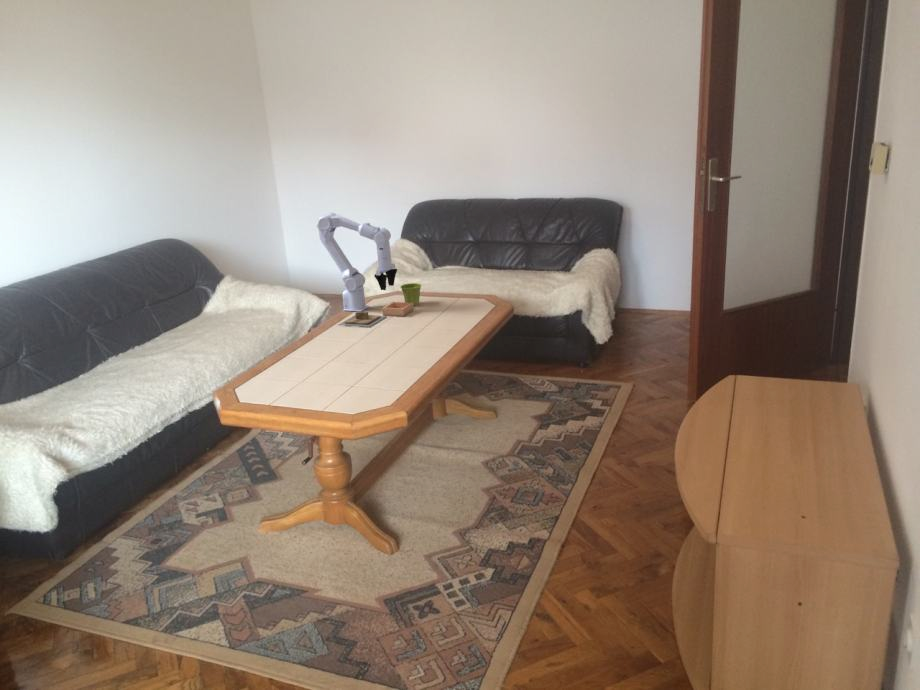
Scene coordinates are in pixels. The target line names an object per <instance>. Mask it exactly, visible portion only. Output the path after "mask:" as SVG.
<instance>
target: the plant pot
mask: <svg viewBox="0 0 920 690" xmlns="http://www.w3.org/2000/svg"><path fill="white" fill-rule="evenodd" d="M421 288H422V284H421V283H416V282H415V283H414V282H413V283H411V282H409V283H406V284H405V283H404V284H402V285H400V289H401V291H402V294H403V299H404V302H407V303H413V306H415V305H416V306H419V305H420V297H421V296H420V295H421V294H420V293H421Z"/></svg>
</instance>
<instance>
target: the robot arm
mask: <svg viewBox="0 0 920 690" xmlns="http://www.w3.org/2000/svg"><path fill="white" fill-rule="evenodd" d="M317 220H318V221H317V224H316V227H317V229H318V233H319V240H320V241H321V243H322V245H323V246H324V247H325V249H326V251H327V252H328V253H329V254H328V255H330V256H331V257H330V258H332V260H333V261H334V263H335V264H336V266H337V267H338V269H339V271H340V272H341V274H342V275H341V278H342V281H343V283H344V287H345V289H344V291H343V292H342V303H343V304H342V305H343V309H342V311H345V312H358V311H359V312H364V311H365V310H366V309H368V308H370V305H367V304H366V295H365V287H364V285H365V283H366V278H365V276H364V274H362V273H361V272H360V271H359V270H358V269H357V268H355V267H353V265H352V264H351V262H350V261H349V259H348V258H347V256H346V254H345V253H344V251H343V250H342V248H341V247H340V245H339V243H338V242H337V241H336V239H335V238H334V234H335V232H336V229H337V228H341V227H342V228H346V229H347V230H351V231H355V232H358V234H359V235H360V236H361V237H363V238H366V239H368V240H371V241H374V242H375V244H376V253H377V261H378V264H377V265H378V268H377V269H376V270H375V274H374V275H373V276H374V279H376V281H377V282H378V285H379V288H380V290H381V291H387V284H388V286H389V287H390V286H394V285H395V278H396V275H397V272H398V269H397V268H396V263H392V256H391V255H392V254H391V253H392V252H391V244H390V239H391V235H392V234H391V231H390V230H388V229H387V228H385V227H383V228H381V227H380V226H377V227H376V226H374V225H371V223H370V222H363V223H358V222H356V221H354V220H351V219H349V218H346V217H344V216H342V215H340V214H336V213H335V212H330V213H328V214H326V215H324V216H323V215H322V216H320V217H319V218H318V219H317ZM384 273H385V274H384ZM347 308H348V309H347Z"/></svg>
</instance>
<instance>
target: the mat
mask: <svg viewBox="0 0 920 690" xmlns="http://www.w3.org/2000/svg"><path fill="white" fill-rule="evenodd" d="M354 316H356V314H355V315H353V316H351V317H350V318H352V317H354ZM379 316H380V318H378V319H377V320H375V321H373V322H372V323H370V324H369V325H359V324H345V321H347V320H349V319H350V318H348V319H346V320H344V321H342V322H341V323H339V324H338V325H346V326H345V327H351V326H360V327H359V328H368V327H370V328H371V326H372V327H373V326H375V325H377V324H378V323H379V321H380V322H382V321H383V320H384V319H386V318H387V317H388V316H383V315H379ZM382 319H383V320H382ZM374 324H375V325H374Z"/></svg>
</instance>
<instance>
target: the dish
mask: <svg viewBox="0 0 920 690" xmlns="http://www.w3.org/2000/svg"><path fill="white" fill-rule="evenodd" d="M413 310H414V311H415V309H414V305H413V303H407V302H405V301H404V302H403V301H392V302H391V303H389V304H387V305H384V307H382V316H387V317H394V316H396V317H398V318H405V317H406V316H408V315H410V314H411V313H412V312H413Z"/></svg>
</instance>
